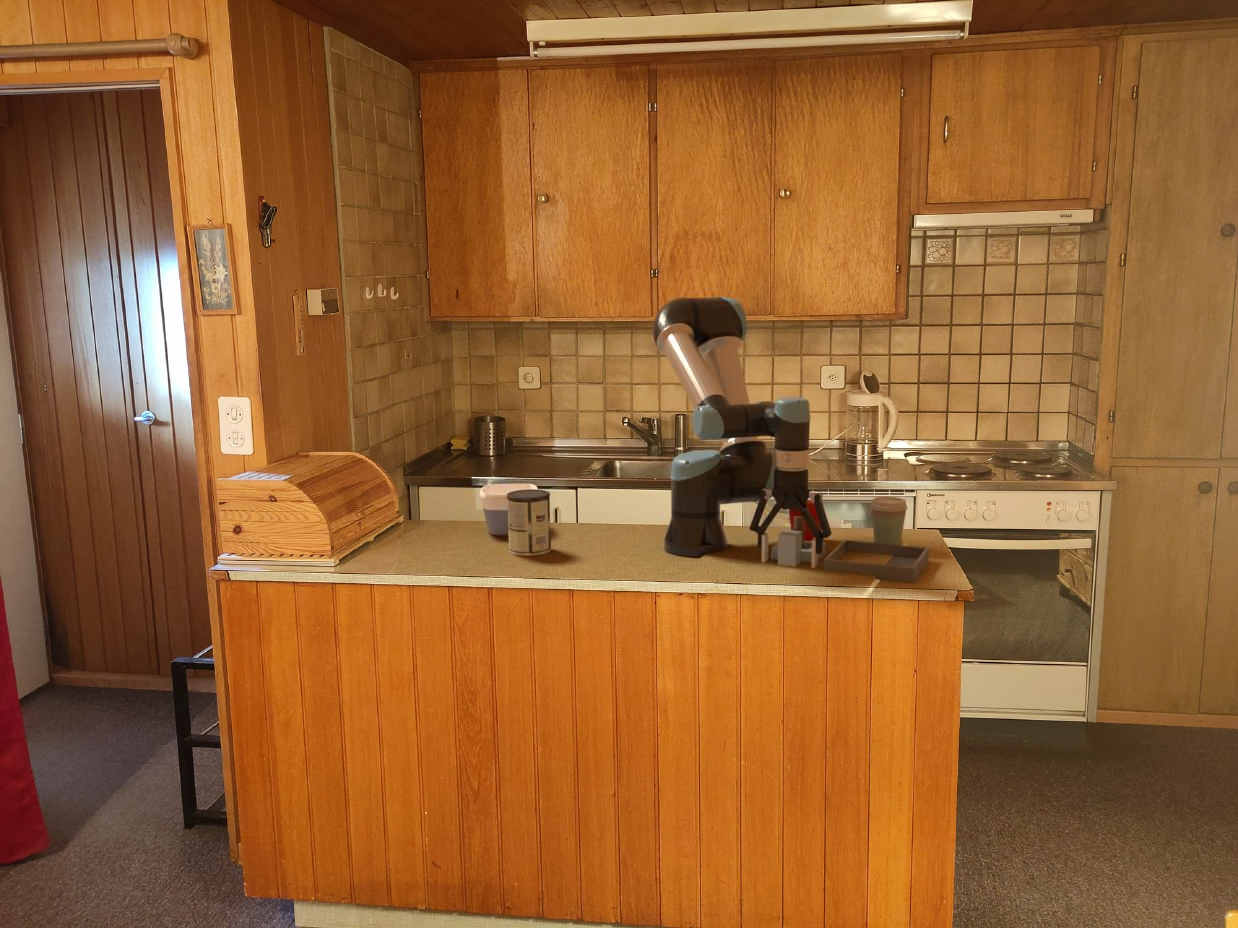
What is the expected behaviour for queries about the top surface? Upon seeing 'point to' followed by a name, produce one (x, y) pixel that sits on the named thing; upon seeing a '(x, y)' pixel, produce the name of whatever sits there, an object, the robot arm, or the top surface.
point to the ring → (792, 549)
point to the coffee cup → (888, 519)
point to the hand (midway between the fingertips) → (789, 564)
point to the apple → (807, 532)
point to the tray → (899, 567)
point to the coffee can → (529, 522)
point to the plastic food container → (499, 505)
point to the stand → (800, 527)
